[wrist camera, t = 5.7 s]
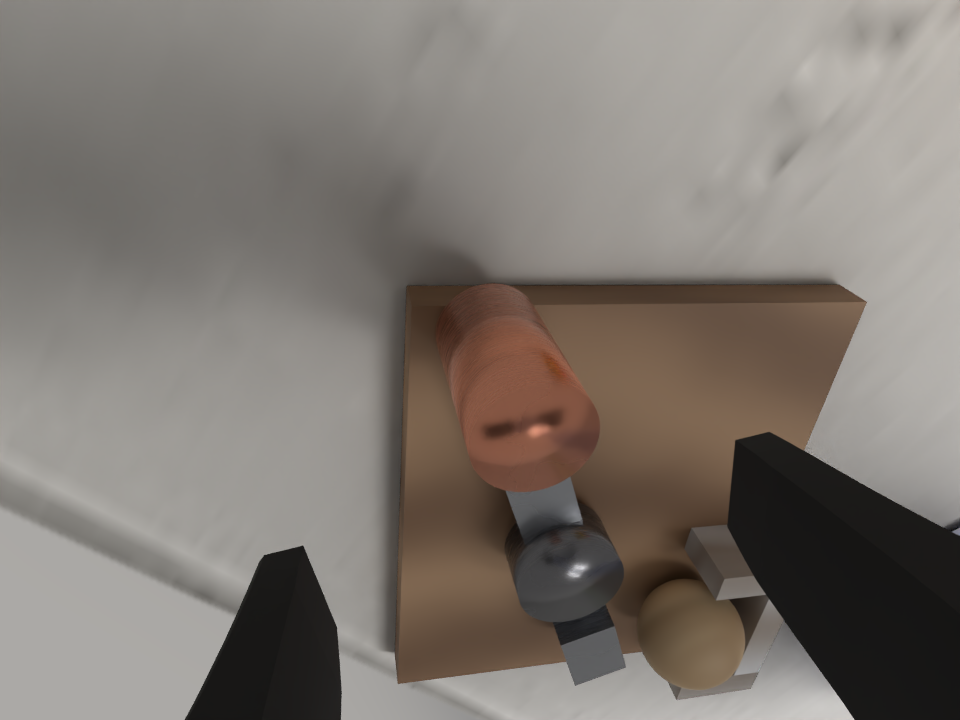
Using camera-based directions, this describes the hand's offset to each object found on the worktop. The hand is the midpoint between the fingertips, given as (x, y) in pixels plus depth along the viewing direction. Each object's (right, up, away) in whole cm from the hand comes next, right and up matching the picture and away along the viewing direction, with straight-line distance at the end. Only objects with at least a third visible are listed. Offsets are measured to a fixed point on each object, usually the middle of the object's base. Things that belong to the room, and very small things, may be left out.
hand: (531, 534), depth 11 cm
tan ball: (+6, -6, +13) cm, 15 cm away
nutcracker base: (+3, -2, +11) cm, 12 cm away
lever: (+1, -1, +9) cm, 9 cm away
